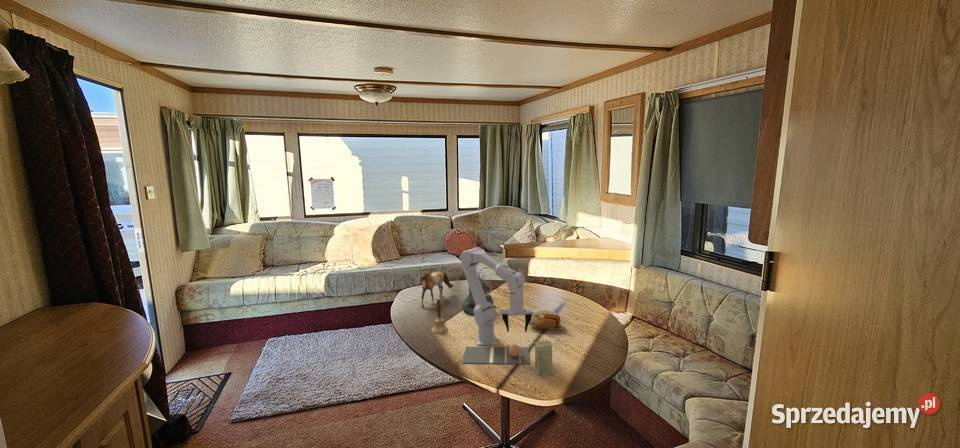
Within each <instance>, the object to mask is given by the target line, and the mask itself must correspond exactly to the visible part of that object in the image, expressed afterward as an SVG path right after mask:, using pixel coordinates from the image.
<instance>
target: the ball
mask: <svg viewBox="0 0 960 448" xmlns="http://www.w3.org/2000/svg"><path fill="white" fill-rule="evenodd" d="M509 347H510V348H509V353H510V355H511V356H513V357H517V356H519V355H520V353H521V349H520V347H521V346H519V345H518V344H512V345H510V346H509Z"/></svg>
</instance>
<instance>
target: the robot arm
mask: <svg viewBox="0 0 960 448" xmlns="http://www.w3.org/2000/svg"><path fill="white" fill-rule="evenodd" d="M459 259H460V262H461V264H462V271H463V273H464V277H465V279H466V281H467V284H468V288H469V287H470V290H471V293H472V296H473V298H474V301H475V304H476V306H475V309H474V311H473V312H474V314H473V316H474V321H475V324H476V325H477V327H478V328H477V329H478V333H477V334H478V338H477V346H495V345H496V335H495V324H494V323H495V321H496V320H495V319H496V318H497V315H498V312H497V310H496V309H495V308H494V305H493V306H492V303H490V302H488V301H487V299H486V297H485V295H486V294H484V291H483V289H482V286H481V283H480V280H479V278H478V275H479V274H478V273H477V269H476V268H477V266H478V265H479V264H480V263H482V264H483V265H485V266H486V267H488V268H490V269H491V270H493V271H494V273H495V275H496V276H497V277H499V278H500V279H502V281H505V282H506V284H507V287H508V291H509V308H506V309H500V310H499V316H500V317H501V318H502V321H503V322H504V325H505V328H506V331H507V333H508V332H509V331H510V327H509V325H510V324H509V316H514V317H520V316H525V318H524V320H525V321H524V322H525V323H524V332H525V333H527V332H528V328H529V325H530V324H529V322H530V320H531V316H534V312H535V310H534V309H527V308H524V285H525V284H526V281H527V280H526V276H525V274H524V273H522V272H521V271H516V270H514V269H512V268H511V267H509V266H508V265H507V264H506V263H499V262H497V260H495V259H493V257H491V256H490V255H489V254H487V253H486V251H485V249H484V248H481V247H480V246H475V247H474V248H471V249H467V250H462V252H461V255H460V257H459ZM483 309H484V310H483Z"/></svg>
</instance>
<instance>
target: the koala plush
mask: <svg viewBox="0 0 960 448" xmlns="http://www.w3.org/2000/svg"><path fill="white" fill-rule="evenodd" d="M477 275H478V278H479V280H480V283H481V286H482V289H483V291H484V294H485V297H486V299H487V301H488V302H490V303H492V306H493V307H494V299H493V297H492V295H491V294H490V293H489V294H488V292H489V291H490V287H489V285H487V284H486V282H485V281H484V280H483V278H482V277H480V275H479V274H477ZM475 306H476V304H475V301H474V298H473V296H472V293H471V290H470V287H469V286H468V295H467V296H466V297H465V299H463V301H462V304H461V308H462V310H463V311H464V312H466V313H468V314H470V315H474V312H473V311H474V309H475ZM483 310H484V309H483Z"/></svg>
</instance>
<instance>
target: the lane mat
mask: <svg viewBox="0 0 960 448" xmlns="http://www.w3.org/2000/svg"><path fill="white" fill-rule="evenodd" d="M519 347H520V349H521V353H520V355H519V356H517V357H513V356H511V355H510V353H509V348H510V346H465V349H464V353H463V358H462V362H461V364H466V365H470V364H471V365H531V362H530V361H531V360H530V359H531V358H530V352H529V350H530V349H529V346H519Z"/></svg>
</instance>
